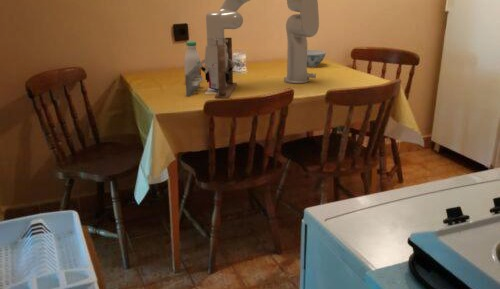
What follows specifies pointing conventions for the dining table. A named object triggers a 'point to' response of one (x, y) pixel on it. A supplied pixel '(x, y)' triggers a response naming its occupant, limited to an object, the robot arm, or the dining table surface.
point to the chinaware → (314, 57)
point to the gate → (224, 87)
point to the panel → (192, 80)
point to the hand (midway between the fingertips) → (217, 81)
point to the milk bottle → (191, 57)
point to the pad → (211, 91)
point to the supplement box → (214, 77)
